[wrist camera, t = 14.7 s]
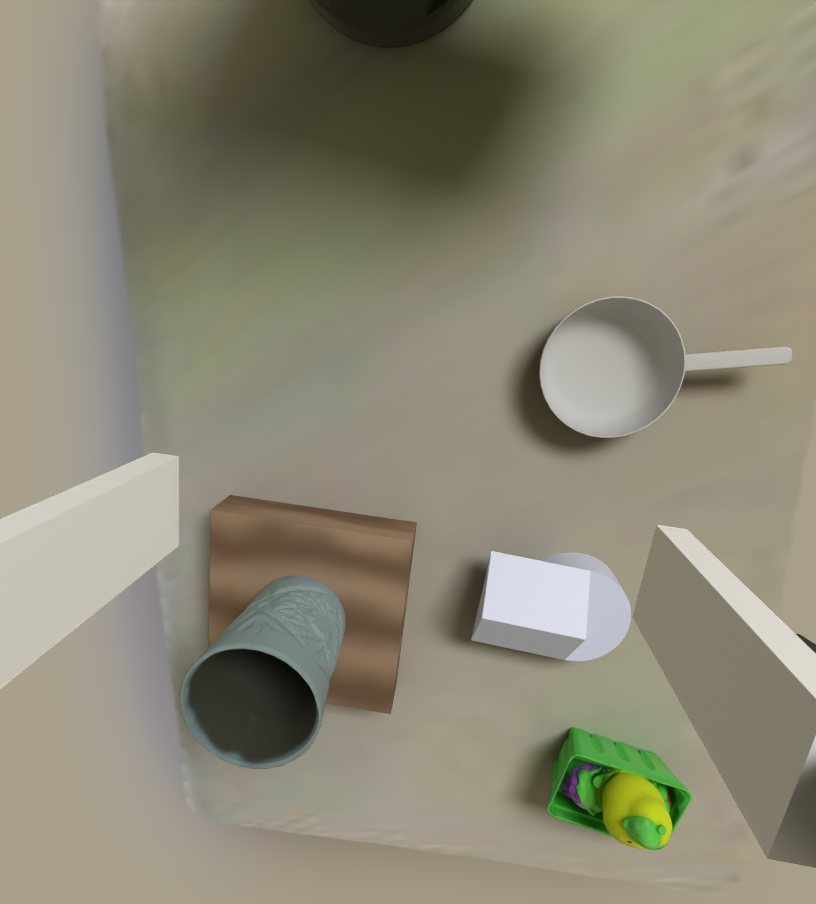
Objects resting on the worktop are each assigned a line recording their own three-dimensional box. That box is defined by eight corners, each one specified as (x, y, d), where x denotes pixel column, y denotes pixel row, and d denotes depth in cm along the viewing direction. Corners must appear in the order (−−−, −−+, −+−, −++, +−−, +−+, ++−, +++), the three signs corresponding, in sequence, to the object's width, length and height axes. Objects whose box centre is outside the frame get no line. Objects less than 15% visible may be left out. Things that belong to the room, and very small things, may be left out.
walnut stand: (230, 495, 50) (210, 510, 46) (416, 522, 48) (412, 540, 44) (226, 656, 54) (208, 682, 50) (396, 685, 53) (390, 714, 49)
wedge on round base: (470, 619, 50) (605, 647, 49) (471, 664, 44) (626, 697, 43) (489, 535, 48) (631, 563, 47) (493, 569, 41) (657, 602, 41)
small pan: (532, 304, 42) (538, 303, 39) (768, 281, 40) (799, 278, 36) (536, 432, 45) (542, 443, 41) (758, 417, 43) (786, 427, 39)
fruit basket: (537, 770, 54) (555, 884, 43) (567, 702, 51) (594, 806, 41) (643, 804, 53) (688, 928, 43) (679, 738, 51) (736, 851, 40)
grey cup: (247, 654, 49) (180, 758, 38) (247, 557, 46) (175, 637, 35) (352, 669, 48) (317, 780, 37) (358, 571, 46) (322, 657, 34)
